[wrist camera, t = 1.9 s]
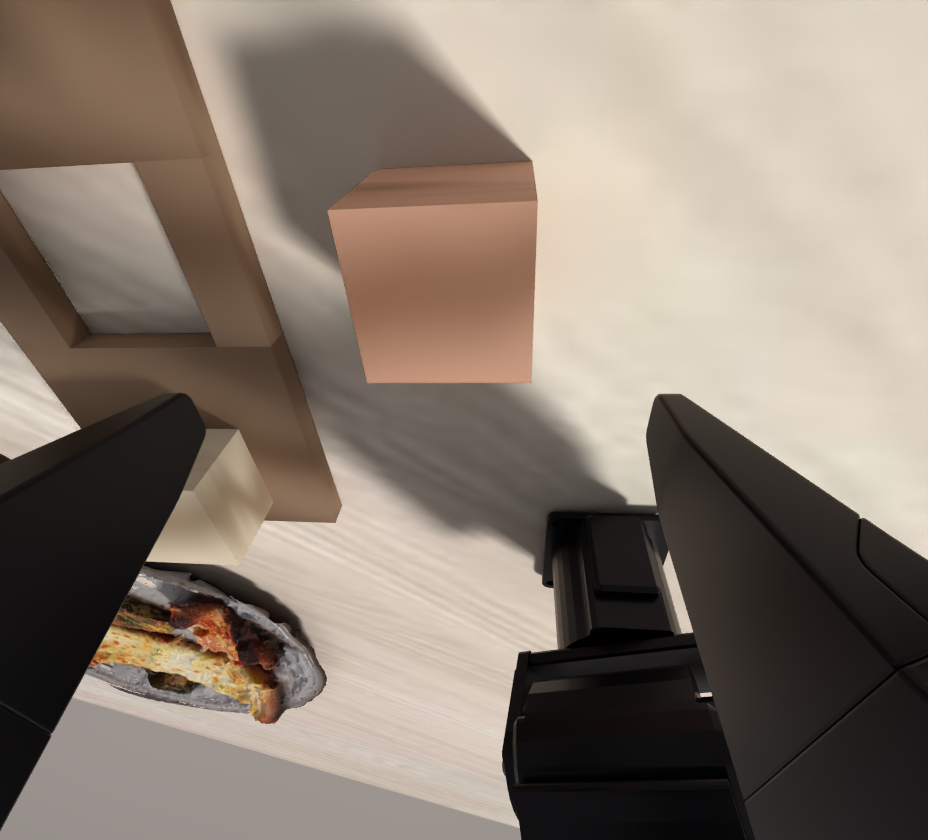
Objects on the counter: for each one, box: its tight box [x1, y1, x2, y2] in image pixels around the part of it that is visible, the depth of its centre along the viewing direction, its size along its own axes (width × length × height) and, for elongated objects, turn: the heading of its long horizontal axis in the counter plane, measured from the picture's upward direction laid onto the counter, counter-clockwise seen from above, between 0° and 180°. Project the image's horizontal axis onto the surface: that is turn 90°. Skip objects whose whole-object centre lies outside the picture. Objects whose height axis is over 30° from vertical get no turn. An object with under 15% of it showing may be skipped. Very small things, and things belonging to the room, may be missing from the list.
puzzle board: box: [0, 0, 342, 566], centre depth 16 cm, size 28×11×5 cm, turn 4°
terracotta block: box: [327, 161, 538, 383], centre depth 14 cm, size 5×5×5 cm
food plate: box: [85, 566, 327, 724], centre depth 36 cm, size 25×23×4 cm
